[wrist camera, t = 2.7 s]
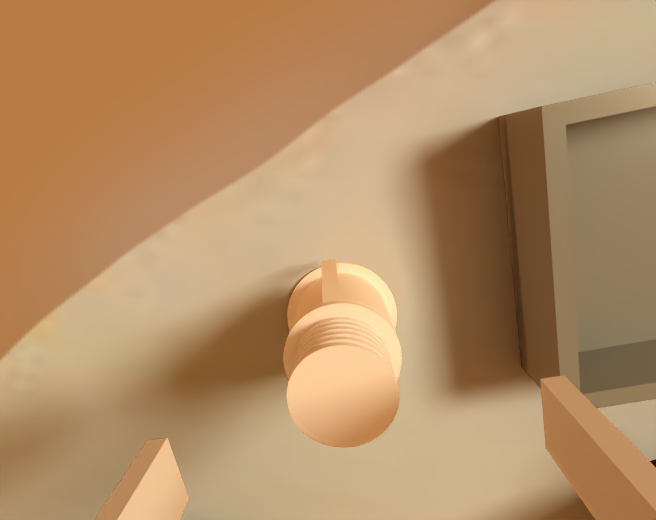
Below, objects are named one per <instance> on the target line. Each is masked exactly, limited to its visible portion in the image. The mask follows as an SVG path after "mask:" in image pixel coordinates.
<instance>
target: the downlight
mask: <svg viewBox="0 0 656 520" xmlns="http://www.w3.org/2000/svg"><path fill="white" fill-rule="evenodd" d="M287 322H288V327H289V330H290V331H289V334H288V337H287V340H286V343H285V347H284V353H283V363H284V369H285V373H286V376H287V378H288V381H289V383H288V387H287V404H288V409H289V412H290V414H291V417H292V418H293V420H294V422H295V423H296V425H297V426H298V427H299V428H300V429H301V430H302V431H303V432H304V433H305V434H306V435H307V436H309V437H310V438H312V439H313V440H315V441H317V442H320V443H322V444H325V445H329V446H333V447H354V446H359V445H362V444H365V443H367V442H370V441H372V440H373V439H375V438H377V437H378V436H379V435H381V434H382V433H383V432H384V431H385V430H386V429H387V428H388V427H389V425H390V424H391V423H392V421H393V419H394V417H395V415H396V413H397V409H398V405H399V388H398V384H397V379H398V377H399V374H400V370H401V364H402V353H401V347H400V343H399V340H398V338H397V335H396V332H395V327H396V322H397V310H396V304H395V301H394V298H393V295H392V293H391V291H390V289H389V288H388V286H387V285H386V283H385V282H384V281H383V280H382V279H381V278H380V277H379V276H378V275H376V274H375V273H374V272H372V271H370V270H369V269H367V268H364V267H362V266H359V265H355V264H350V263H337V259H333V260H328V261H323V262H322V265H321V267H319V268H317V269H315V270H313V271H312V272H310V273H309V274H307V275H306V276H305V277H304V278H303V279H302V280H301V281H300V282H299V283H298V285H297V286H296V287H295V289H294V291H293V293H292V295H291V297H290V300H289V304H288V309H287Z"/></svg>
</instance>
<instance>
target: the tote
mask: <svg viewBox="0 0 656 520" xmlns="http://www.w3.org/2000/svg"><path fill="white" fill-rule="evenodd" d="M498 119H499V130H500V140H501V151H502V162H503V172H504V183H505V194H506V204H507V215H508V226H509V236H510V247H511V258H512V269H513V279H514V290H515V301H516V311H517V322H518V333H519V343H520V354H521V365H522V368H523V369H524V370H525V371H526V372H527V373H528V375H529V376H530V377H531V378H532V379H533V380H534V381H535V383H536V384H537V385H538V386H539V387H540V388H541V381H540V379H543V378H550V377H556V376H563V375H564V376H565V377H566V378H567V379H568V380H569V381H570V382H571V383H572V384H573V385H574V386H575V387H576V388H577V389H578V390H579V391H580V392H581V393H582V394H583V395H584V396H585V397H586V398H587V399H588V400H589V401H590V402H591V403H592V404H593V405H594V406H595V407H596V408H601V407H607V406H613V405H620V404H626V403H632V402H639V401H645V400H651V399H656V82H655V83H650V84H646V85H641V86H636V87H631V88H627V89H622V90H617V91H612V92H608V93H603V94H598V95H593V96H589V97H584V98H579V99H574V100H570V101H565V102H560V103H555V104H551V105H546V106H541V107H537V108H533V109H529V110H524V111H520V112H516V113H512V114H508V115H503V116H499V117H498Z"/></svg>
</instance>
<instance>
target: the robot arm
mask: <svg viewBox="0 0 656 520" xmlns="http://www.w3.org/2000/svg"><path fill="white" fill-rule="evenodd" d="M540 381H541V394H542V407H543V419H544V432H545V445H546V449H547V450H548V452H549V453H550V455H551V456H552V458H553V459H554V461H555V462H556V463H557V465H558V466H559V468H560V469H561V471H562V472H563V474H564V475H565V477H566V478H567V479H568V481H569V482H570V484H571V485H572V487H573V488H574V490H575V491H576V492H577V494H578V495H579V497H580V498H581V500H582V501H583V503H584V504H585V506H586V507H587V508H588V510H589V511H590V513H591V514H592V516H593V517H594V519H595V520H656V467H655V466H654V465H653V464H652V463H651V462H650V461H649V460H648V459H647V458H646V457H645V456H644V455H643V454H642V453H641V452H640V451H639V450H638V449H637V448H636V447H635V446H634V445H633V444H632V443H631V442H630V441H629V440H628V439H627V438H626V437H625V436H624V435H623V434H622V433H621V432H620V431H619V430H618V429H617V428H616V427H615V426H614V425H613V424H612V423H611V422H610V421H609V420H608V419H607V418H606V417H605V416H604V415H603V414H602V413H601V412H600V411H599V410H598V409H597V408H596V407H595V406H594V405H593V404H592V403H591V402H590V401H589V400H588V399H587V398H586V397H585V396H584V395H583V394H582V393H581V392H580V391H579V390H578V389H577V388H576V387H575V386H574V385H573V384H572V383H571V382H570V381H569V380H568V379H567V378H566V377H565V376H564V375H563V376H556V377H550V378H543V379H540ZM188 500H189V497H188V494H187V491H186V489H185V486H184V483H183V480H182V477H181V474H180V472H179V469H178V466H177V463H176V460H175V458H174V455H173V452H172V449H171V446H170V444H169V441H168V438H161V439H155V440H148V441H147V442H146V443H145V445H144V446H143V448H142V449H141V451H140V452H139V454H138V455H137V457H136V458H135V460H134V461H133V463H132V464H131V466H130V467H129V469H128V470H127V472H126V473H125V475H124V476H123V478H122V479H121V481H120V482H119V484H118V485H117V487H116V488H115V490H114V491H113V493H112V494H111V496H110V497H109V498H108V500H107V501H106V503H105V504H104V506H103V507H102V509H101V510H100V512H99V513H98V515H97V516H96V518H95V519H94V520H180V519H181V516H182V514H183V512H184V510H185V507H186V505H187V503H188Z"/></svg>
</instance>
